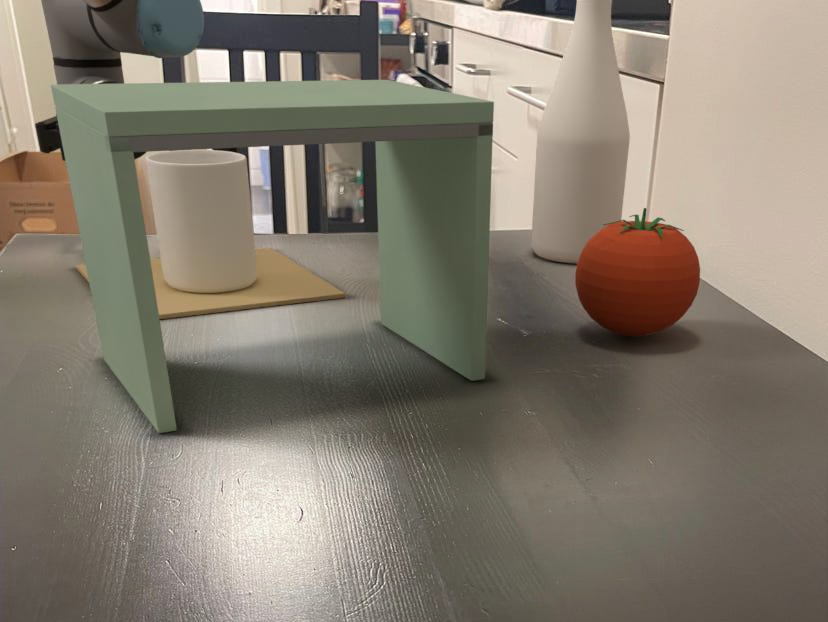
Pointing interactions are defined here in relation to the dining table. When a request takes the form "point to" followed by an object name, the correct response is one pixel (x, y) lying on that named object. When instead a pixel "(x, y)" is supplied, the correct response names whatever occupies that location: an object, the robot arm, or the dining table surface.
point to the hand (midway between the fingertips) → (163, 145)
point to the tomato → (637, 276)
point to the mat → (271, 288)
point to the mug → (203, 219)
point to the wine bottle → (581, 141)
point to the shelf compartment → (279, 126)
